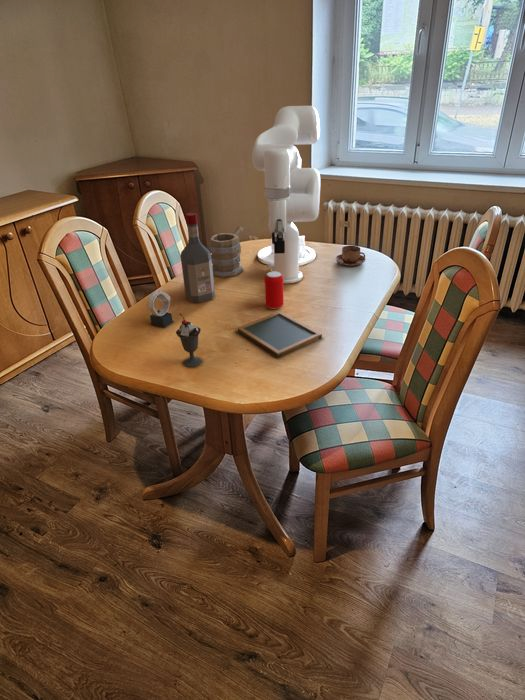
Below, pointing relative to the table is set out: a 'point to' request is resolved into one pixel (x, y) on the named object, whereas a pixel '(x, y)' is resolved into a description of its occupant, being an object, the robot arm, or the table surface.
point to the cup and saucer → (351, 256)
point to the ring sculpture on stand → (159, 316)
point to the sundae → (189, 341)
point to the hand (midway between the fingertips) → (278, 248)
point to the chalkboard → (279, 334)
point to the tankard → (226, 254)
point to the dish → (304, 253)
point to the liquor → (196, 265)
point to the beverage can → (274, 290)
